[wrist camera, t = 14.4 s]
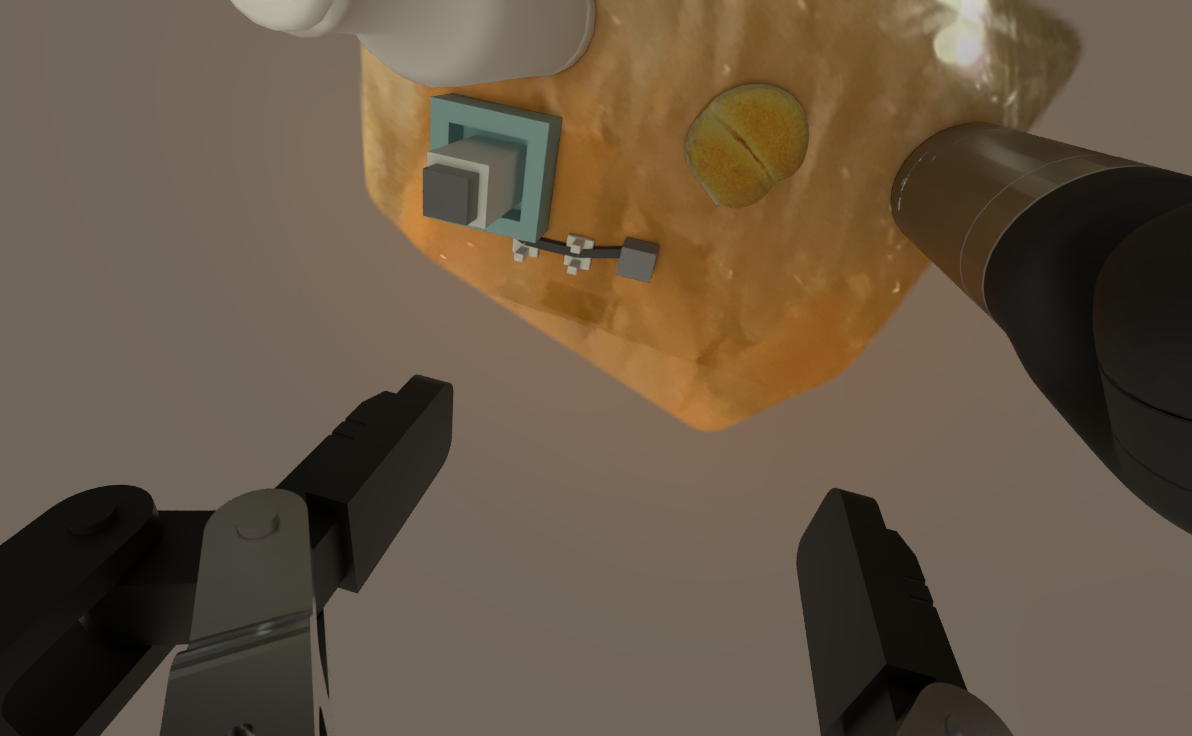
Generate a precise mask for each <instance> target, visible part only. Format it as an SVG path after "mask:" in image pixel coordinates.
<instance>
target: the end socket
mask: <svg viewBox="0 0 1192 736" xmlns="http://www.w3.org/2000/svg"><path fill="white" fill-rule="evenodd" d="M561 123H562V118H560V117H556V116H552V115H547V114H543V113H538V112H534V111H529V110H525V109H520V108H516V107H511V106H507V105H502V104H498V103H493V102H489V101H484V100H480V99H475V98H471V97H467V96H462V95H458V94H453V93H452V94H445V95H439V96H433V97H431V128H430V151H431V150H434V149H436V148H439V147H442V146H445V145H448V144H451V143H454V142H457V141H459V140H462V139H465V138H468V137H471V136H474V135H481V136H486V137H490V138H494V139H499V140H503V141H508V142H512V143H516V144H521V145H525V146H528V147H527V157H526V167H525V177H524V187H523V197H522V201H521V202H520V203H518V204H517V205H516V206H514V207H513V208H512V209H510V210H509V211H508V212H507V213H505V214H504V215H503V216H501V217H500V218H499V219H497V220H496V221H495V222H494V223H492V224H491V225H490V226H488V227H487V228H486V229H483V228H479V227H475V226H471V225H467V226H466V227H470V228H474V229H479V230H483V231H487V232H491V233H495V234H499V235H503V236H507V237H512V238H516V239H520V240H524V241H528V242H532V243H536V242H537V241H538V240H539V239H540V238H541V236H542V235H543V234H544V233H545V232H546V231H547V230H548V224H549V216H550V208H551V201H552V193H553V185H554V177H555V170H556V162H557V154H558V147H559V139H560V131H561ZM430 218H431V217H430ZM433 219H436V218H433ZM437 220H440V219H437ZM441 221H444V220H441ZM445 222H448V221H445ZM450 223H452V222H450ZM454 224H456V223H454ZM458 225H461V224H458ZM462 226H465V225H462Z"/></svg>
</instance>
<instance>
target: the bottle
mask: <svg viewBox="0 0 1192 736" xmlns="http://www.w3.org/2000/svg"><path fill="white" fill-rule="evenodd" d="M231 2H232V3H233V4H234V6H235V7H236V8H237V9H238V10H239V11H241V12H242V13H243V14H244V15H246V16H247V17H248V18H249V19H251V20H252V21H253V22H254V23H256V24H259V25H262V26H264V27H267V28H269V29H272V30H277V31H284V32H286V33H289V34H292V35H294V36H297V37H321V36H326V35H327V34H329V33H340V34H356V36H357V37H358V38H359V40H360V42H361V43H362V44H363V46H364V47H365V48H366V49H367V50H368V51H370V52H371V53H372V54H373V55H374V56H376V57H377V58H378V59H379V60H381V61H382V62H383V63H384V64H385V65H387V66H388V67H389V68H390V69H392V70H393V71H394V72H395V73H397V74H399V75H400V76H402V77H404V78H406V79H408V80H411V81H414V82H416V83H419V84H422V85H424V86H427V87H430V88H443V87H460V86H467V85H474V84H482V83H489V82H496V81H504V80H511V79H518V78H525V77H533V76H552V75H555V74H557V73H559V72H561V71H563V70H565V69H567V68H569V67H571V66H573V65H574V64H575V63H576V62H577V61H578V60H579V59H580V58H581V57H582V56H583V54H584V53H585V52H586V50H587V48H588V46H589V43H590V41H591V39H592V36H593V34H594V27H595V17H596V9H595V3H594V0H231Z"/></svg>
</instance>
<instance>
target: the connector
mask: <svg viewBox="0 0 1192 736" xmlns="http://www.w3.org/2000/svg"><path fill="white" fill-rule="evenodd" d="M527 147H528V146H525V145H521V144H516V143H512V142H508V141H503V140H499V139H494V138H490V137H486V136H481V135H474V136H471V137H468V138H465V139H462V140H459V141H457V142H454V143H451V144H448V145H445V146H442V147H439V148H436V149H434V150H431V151H428V167H426V168H423V216H427V217H431V218H436V219H440V220H444V221H448V222H452V223H456V224H461V225H465V226H467V225H471V226H475V227H479V228H483V229H486V228H487V227H488V226H490V225H491V224H492V223H494V222H495V221H496V220H497V219H499V218H500V217H501V216H503V215H504V214H505V213H507V212H508V211H509V210H510V209H512V208H513V207H514V206H516V205H517V204H518V203H520V202H521V201H522V197H523V187H524V177H525V167H526V157H527Z"/></svg>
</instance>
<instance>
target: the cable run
mask: <svg viewBox="0 0 1192 736" xmlns="http://www.w3.org/2000/svg"><path fill="white" fill-rule="evenodd" d="M594 242H595V239H591V238H586V237H582V236H578V235H574V234H570V233H569V235H568V238H567V244H566V243H562V242H558V241H554V240H550V239H545V238H540V239H539V240H538V241H537V242H536V243H532V242H528V241H524V240H520V239H516V238H513V249H512V252H515V254H514V260H516V261H520V262H523V261H524V260H525V259H526V258H527V256H531V257H536V258H537V257H538V256H539V249H542V250H546V251H551V252H555V253H559V254H563V255H565V258H564V265H568V270H567V273H569V274H573V275H576V274H577V272H578V271H579V269H580V268H581V269H585V270H589V269H590V264H591V259H592V258H620V260H619V265H618V269H617V274H616V275H618V276H622V277H626V278H631V279H635V280H639V281H643V282H647V283H650V280H651V276H652V273H653V269H654V265H655V261H656V257H657V253H658V249H659V245H658V244H654V243H649V242H645V241H641V240H637V239H633V238H628V237H627V238H626V240H625V242H624V244H623V246H622V247H594Z"/></svg>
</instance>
